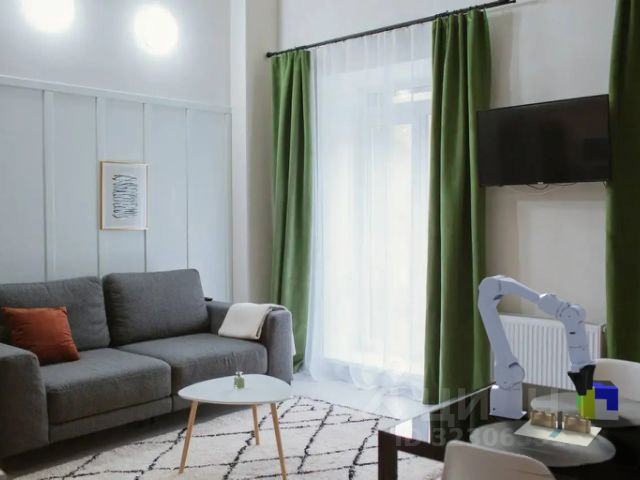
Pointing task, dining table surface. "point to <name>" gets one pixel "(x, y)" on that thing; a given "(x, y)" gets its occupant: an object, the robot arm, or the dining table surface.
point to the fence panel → (577, 424)
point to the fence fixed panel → (546, 419)
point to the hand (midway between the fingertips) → (585, 392)
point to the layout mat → (558, 434)
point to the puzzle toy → (599, 401)
